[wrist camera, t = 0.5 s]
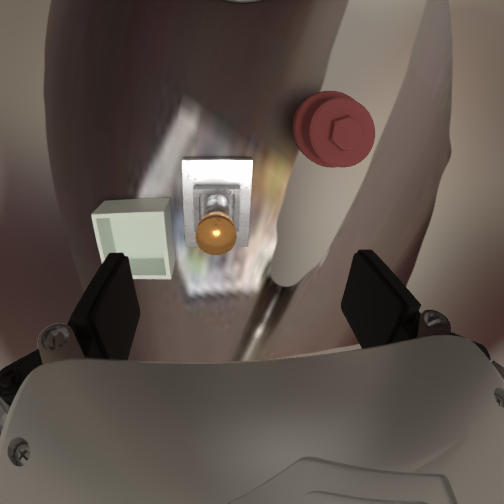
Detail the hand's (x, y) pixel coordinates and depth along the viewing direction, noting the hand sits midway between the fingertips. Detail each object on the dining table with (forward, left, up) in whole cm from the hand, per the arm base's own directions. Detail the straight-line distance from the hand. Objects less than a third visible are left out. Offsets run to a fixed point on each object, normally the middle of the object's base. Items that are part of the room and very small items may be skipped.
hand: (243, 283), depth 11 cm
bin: (+13, -14, -32) cm, 37 cm away
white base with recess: (+8, -1, -32) cm, 33 cm away
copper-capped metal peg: (+8, -1, -30) cm, 31 cm away
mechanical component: (-5, +13, -32) cm, 35 cm away
